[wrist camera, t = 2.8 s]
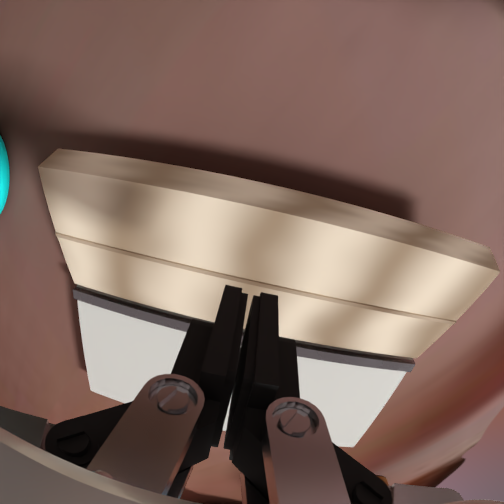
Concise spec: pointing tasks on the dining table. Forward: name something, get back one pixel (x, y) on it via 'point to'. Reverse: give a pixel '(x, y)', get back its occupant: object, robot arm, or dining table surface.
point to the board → (176, 325)
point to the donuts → (3, 174)
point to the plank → (260, 252)
